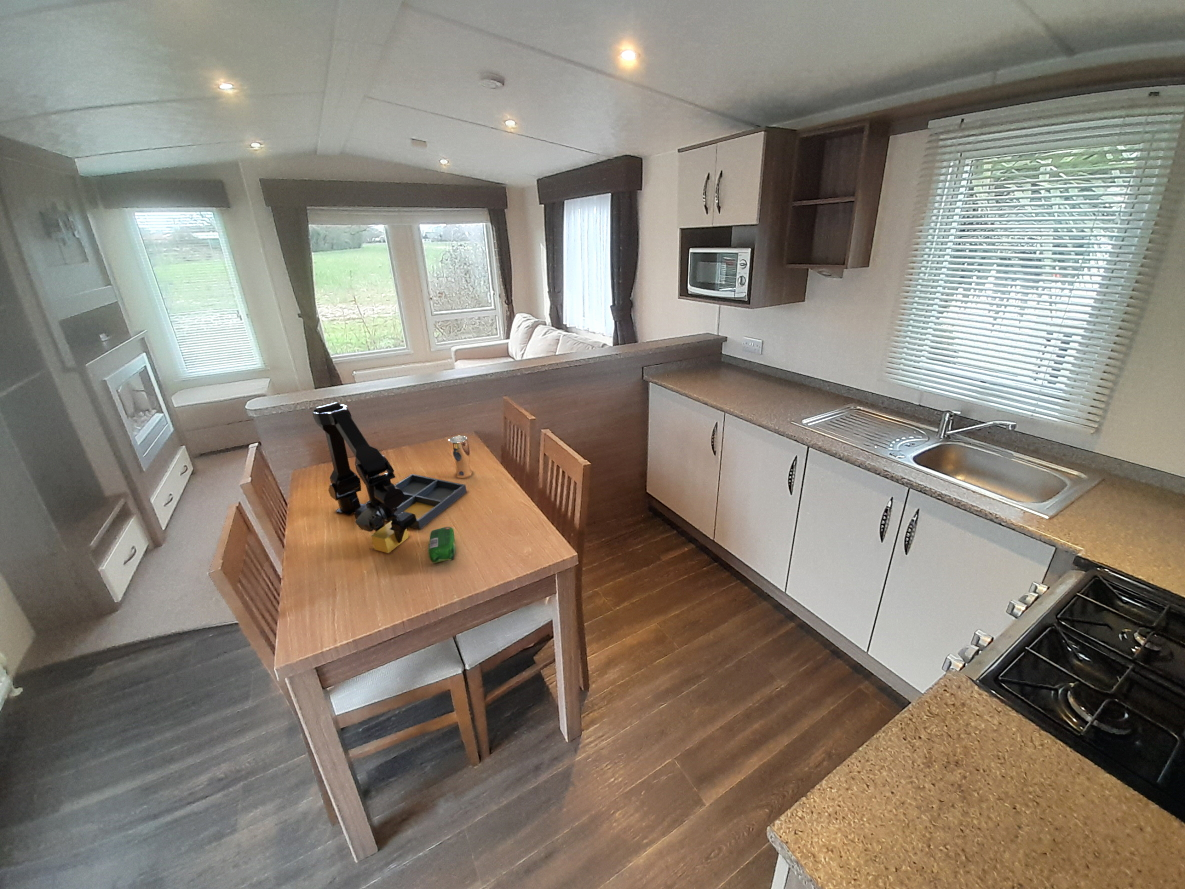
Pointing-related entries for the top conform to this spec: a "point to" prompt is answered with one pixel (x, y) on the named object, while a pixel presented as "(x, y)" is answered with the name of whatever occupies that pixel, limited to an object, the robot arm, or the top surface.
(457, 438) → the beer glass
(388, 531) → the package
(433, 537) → the snack package
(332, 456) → the robot arm
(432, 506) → the tray
